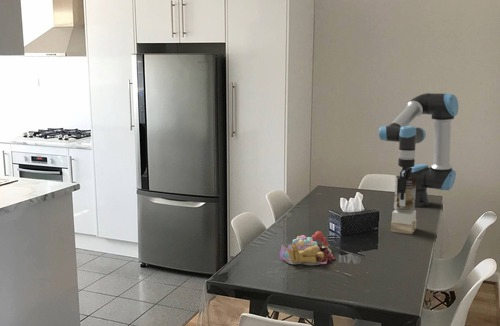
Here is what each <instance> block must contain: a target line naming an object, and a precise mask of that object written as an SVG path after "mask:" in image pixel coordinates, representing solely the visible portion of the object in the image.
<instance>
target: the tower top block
mask: <svg viewBox="0 0 500 326" xmlns="http://www.w3.org/2000/svg"><path fill="white" fill-rule="evenodd" d="M416 218H417V210H416V209H415V211H403V210H395V209H394V210H393V211H392V212H391V222H396V223H402V224H408V225H410V224H412V223H413V222H414V221H415V220H417V219H416Z"/></svg>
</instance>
